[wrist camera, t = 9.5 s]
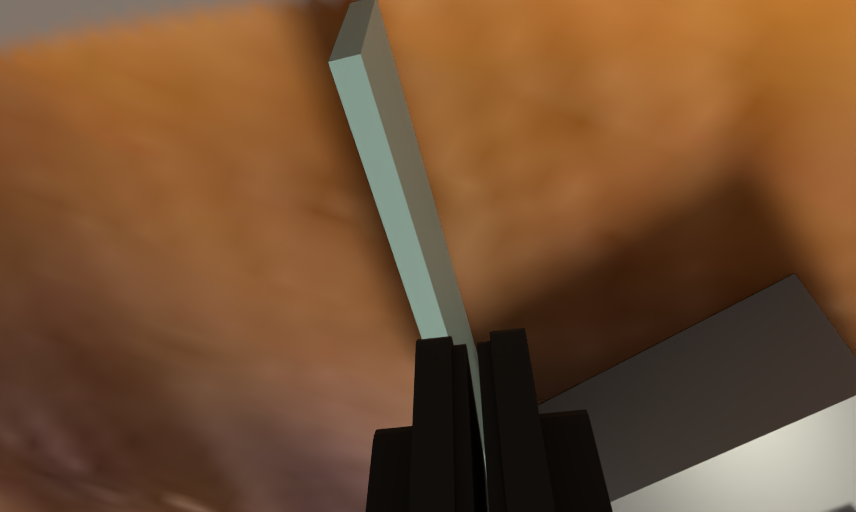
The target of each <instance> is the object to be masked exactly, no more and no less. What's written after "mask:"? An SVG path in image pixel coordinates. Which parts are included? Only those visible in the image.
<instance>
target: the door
mask: <svg viewBox="0 0 856 512" xmlns="http://www.w3.org/2000/svg"><path fill="white" fill-rule="evenodd" d="M328 63H329V66H330V69H331V72H332V75H333V78H334V81H335V84H336V87H337V90H338V93H339V96H340V99H341V102H342V105H343V107H344V110H345V113H346V116H347V119H348V122H349V125H350V128H351V131H352V134H353V137H354V140H355V143H356V146H357V149H358V152H359V155H360V158H361V161H362V164H363V167H364V169H365V172H366V175H367V178H368V181H369V184H370V187H371V190H372V193H373V196H374V199H375V202H376V205H377V208H378V211H379V214H380V217H381V220H382V223H383V226H384V228H385V231H386V234H387V237H388V240H389V243H390V246H391V249H392V252H393V255H394V258H395V261H396V264H397V267H398V270H399V273H400V276H401V279H402V282H403V285H404V288H405V290H406V293H407V296H408V299H409V302H410V305H411V308H412V311H413V314H414V317H415V320H416V323H417V326H418V329H419V332H420V335H421V338H422V339H428V338H437V337H446V336H452V339H453V344H454V345H459V344H466V345H467V351H468V357H469V364H470V370H471V376H472V383H473V389H474V396H475V402H476V408H477V415H478V421H479V428H480V434H481V441H482V447H483V453H484V460H485V448H484V434H483V420H482V406H481V392H480V379H479V365H478V354H477V351H476V347H475V344H474V340H473V337H472V333H471V330H470V326H469V322H468V319H467V315H466V312H465V308H464V305H463V301H462V298H461V294H460V291H459V287H458V284H457V280H456V277H455V273H454V270H453V266H452V262H451V259H450V255H449V252H448V248H447V245H446V241H445V238H444V234H443V231H442V227H441V224H440V220H439V217H438V213H437V210H436V206H435V202H434V199H433V195H432V192H431V188H430V185H429V181H428V178H427V174H426V171H425V167H424V164H423V160H422V157H421V153H420V150H419V146H418V142H417V139H416V135H415V132H414V128H413V125H412V121H411V118H410V114H409V111H408V107H407V104H406V100H405V97H404V93H403V90H402V86H401V82H400V79H399V75H398V72H397V68H396V65H395V61H394V58H393V54H392V51H391V47H390V44H389V40H388V37H387V33H386V30H385V26H384V23H383V19H382V15H381V12H380V8H379V5H378V1H377V0H360V1H356V2H352V3H350V5H349V8H348V10H347V13H346V16H345V18H344V21H343V24H342V26H341V29H340V32H339V34H338V37H337V40H336V42H335V45H334V48H333V50H332V53H331V56H330V58H329V61H328ZM485 468H486V462H485ZM486 477H487V476H486Z"/></svg>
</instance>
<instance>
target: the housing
mask: <svg viewBox="0 0 856 512" xmlns="http://www.w3.org/2000/svg"><path fill="white" fill-rule="evenodd" d="M583 409H586V410H587V412H588V415H589V418H590V422H591V426H592V430H593V434H594V438H595V442H596V446H597V450H598V454H599V458H600V462H601V466H602V470H603V474H604V478H605V482H606V486H607V490H608V494H609V498H610V502H611V506H612V510H613V512H856V357H855V356H854V354H853V353H852V351H851V350H850V349H849V347H848V346H847V345H846V343H845V342H844V340H843V339H842V338H841V336H840V335H839V333H838V332H837V331H836V329H835V328H834V327H833V325H832V324H831V322H830V321H829V320H828V318H827V317H826V316H825V314H824V313H823V311H822V310H821V309H820V307H819V306H818V305H817V303H816V302H815V300H814V299H813V298H812V296H811V295H810V294H809V292H808V291H807V289H806V288H805V287H804V285H803V284H802V282H801V281H800V280H799V278H798V277H797V276H796V274H793V275H791V276H789V277H787V278H785V279H783V280H781V281H779V282H777V283H775V284H773V285H771V286H769V287H767V288H765V289H763V290H762V291H760V292H758V293H756V294H754V295H752V296H750V297H748V298H746V299H744V300H742V301H740V302H738V303H736V304H734V305H732V306H730V307H728V308H727V309H725V310H723V311H721V312H719V313H717V314H715V315H713V316H711V317H709V318H707V319H705V320H703V321H701V322H699V323H697V324H695V325H694V326H692V327H690V328H688V329H686V330H684V331H682V332H680V333H678V334H676V335H674V336H672V337H670V338H668V339H666V340H664V341H662V342H660V343H659V344H657V345H655V346H653V347H651V348H649V349H647V350H645V351H643V352H641V353H639V354H637V355H635V356H633V357H631V358H629V359H627V360H625V361H624V362H622V363H620V364H618V365H616V366H614V367H612V368H610V369H608V370H606V371H604V372H602V373H600V374H598V375H596V376H594V377H592V378H590V379H589V380H587V381H585V382H583V383H581V384H579V385H577V386H575V387H573V388H571V389H569V390H567V391H565V392H563V393H561V394H559V395H557V396H555V397H554V398H552V399H550V400H548V401H546V402H544V403H542V404H540V405H538V410H539V414H542V413H552V412H563V411H573V410H583Z"/></svg>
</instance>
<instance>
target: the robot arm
mask: <svg viewBox="0 0 856 512" xmlns="http://www.w3.org/2000/svg"><path fill="white" fill-rule="evenodd" d="M490 340H491V341H487V342H478V343H477V351H478V365H479V379H480V392H481V406H482V420H483V434H484V448H485V460H484V453H483V447H482V441H481V434H480V428H479V421H478V415H477V408H476V402H475V396H474V389H473V383H472V376H471V370H470V364H469V357H468V351H467V345H466V344H459V345H454V344H453V339H452V336H446V337H437V338H428V339H419V340H417V341H416V354H415V378H414V402H413V425H412V426H408V427H398V428H388V429H378V430H376V432H375V434H374V439H373V446H372V455H371V465H370V475H369V484H368V494H367V504H366V512H613V510H612V506H611V502H610V498H609V494H608V490H607V486H606V482H605V478H604V474H603V470H602V466H601V462H600V458H599V454H598V450H597V446H596V442H595V438H594V434H593V430H592V426H591V422H590V418H589V415H588V412H587V410H586V409H583V410H573V411H563V412H552V413H542V414H539V410H538V404H537V398H536V392H535V386H534V380H533V374H532V368H531V362H530V356H529V350H528V344H527V338H526V333H525V328H520V329H511V330H501V331H492V332H490ZM485 462H486V468H485ZM486 476H487V477H486Z"/></svg>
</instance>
